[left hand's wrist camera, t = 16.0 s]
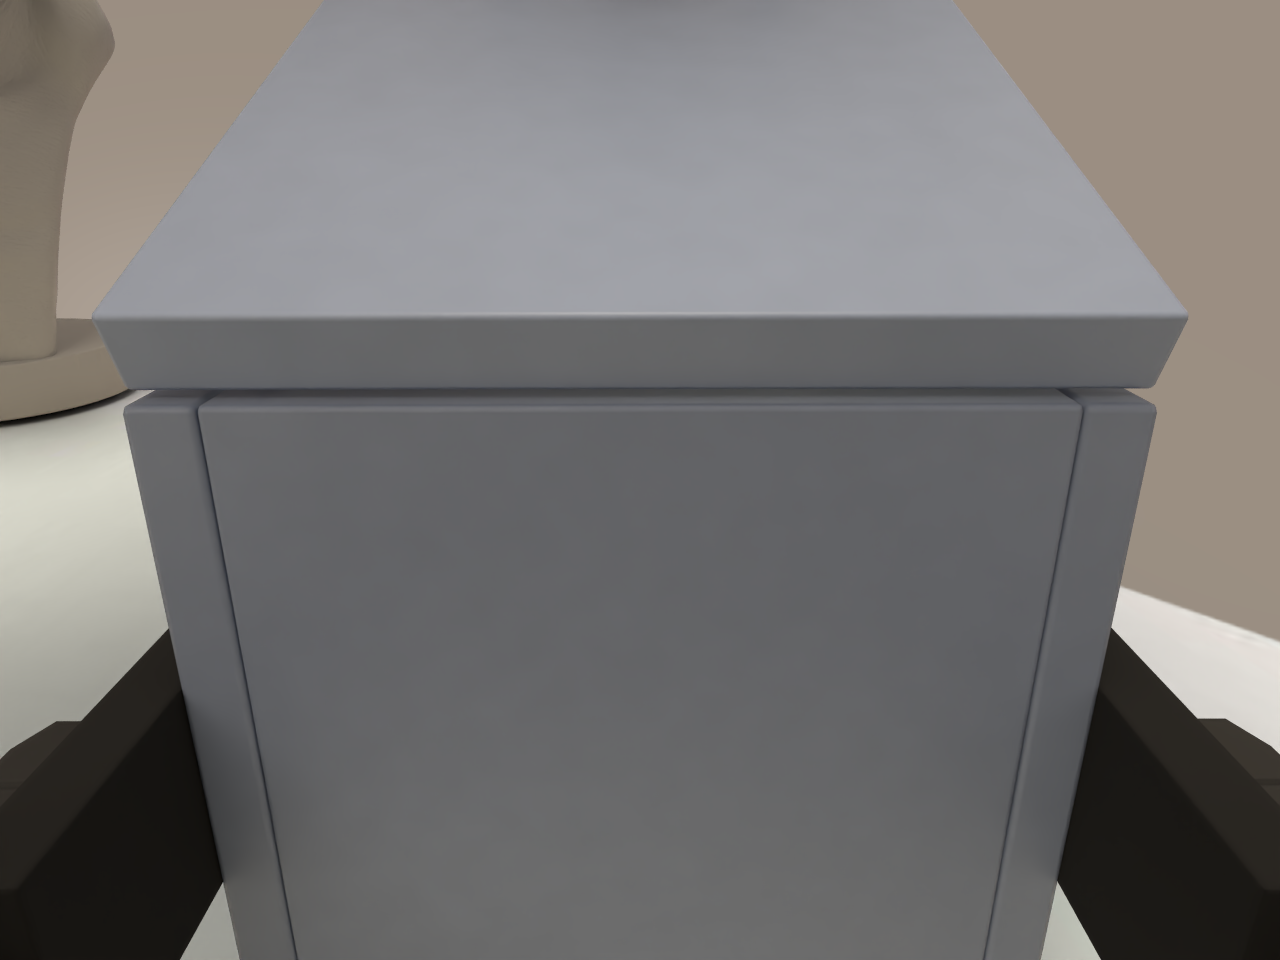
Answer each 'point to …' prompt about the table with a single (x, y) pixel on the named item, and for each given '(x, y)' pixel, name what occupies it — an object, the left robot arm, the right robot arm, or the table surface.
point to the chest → (640, 662)
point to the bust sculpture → (44, 204)
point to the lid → (639, 212)
